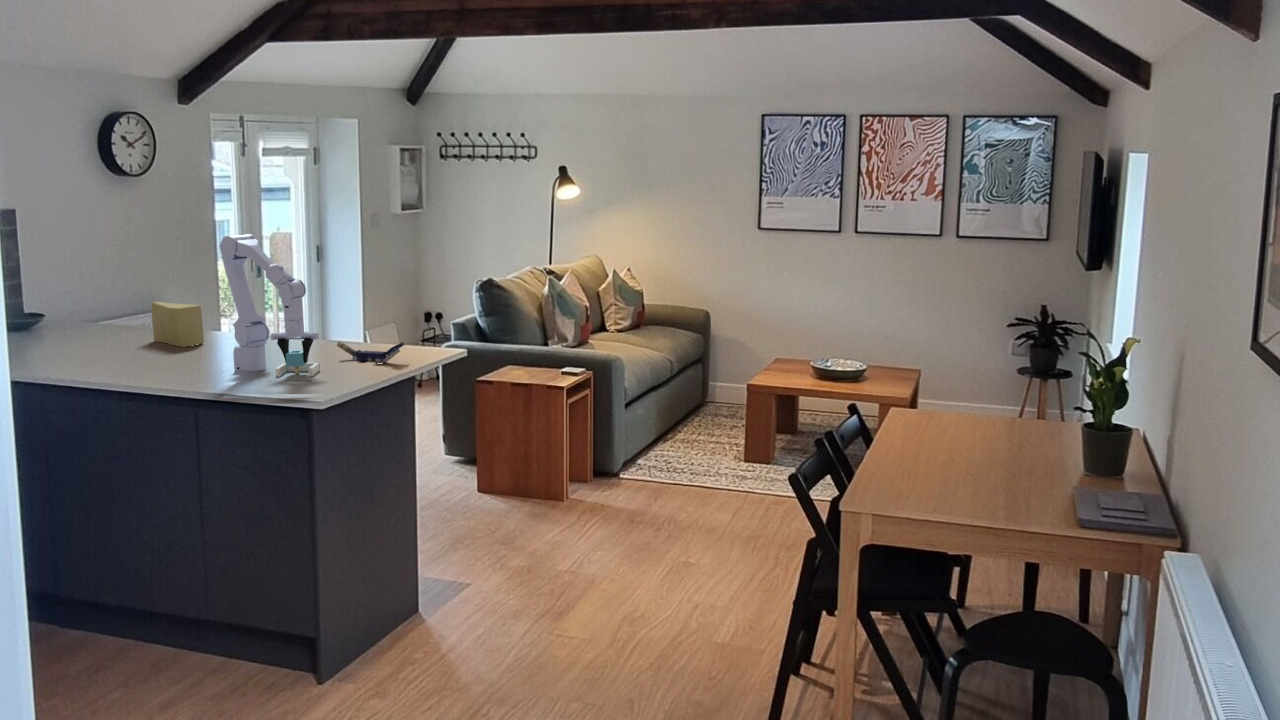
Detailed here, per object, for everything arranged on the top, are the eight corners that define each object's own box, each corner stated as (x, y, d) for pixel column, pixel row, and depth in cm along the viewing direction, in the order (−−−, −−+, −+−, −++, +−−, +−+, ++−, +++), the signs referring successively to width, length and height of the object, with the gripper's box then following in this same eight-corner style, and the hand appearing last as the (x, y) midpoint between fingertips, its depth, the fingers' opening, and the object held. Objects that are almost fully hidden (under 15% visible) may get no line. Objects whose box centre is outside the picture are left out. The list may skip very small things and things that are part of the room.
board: (264, 385, 347) (263, 372, 346) (289, 367, 374) (288, 355, 373) (321, 384, 347) (320, 371, 346) (341, 366, 374) (340, 354, 373)
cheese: (143, 343, 421) (140, 303, 418) (166, 339, 429) (163, 299, 426) (182, 348, 409) (179, 307, 407) (205, 344, 418) (202, 304, 415)
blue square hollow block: (286, 366, 354) (285, 353, 354) (290, 363, 359) (289, 350, 358) (302, 365, 354) (301, 353, 354) (306, 362, 359) (305, 350, 359)
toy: (390, 375, 375) (395, 346, 373) (328, 358, 378) (333, 329, 376) (402, 369, 384) (407, 341, 382) (342, 353, 388) (346, 324, 385)
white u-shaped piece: (275, 376, 354) (275, 368, 353) (283, 370, 363) (283, 363, 362) (312, 376, 354) (312, 368, 354) (319, 370, 363) (319, 362, 362)
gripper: (266, 321, 350) (269, 364, 353) (314, 321, 350) (316, 364, 353) (273, 318, 357) (276, 360, 360) (319, 317, 357) (322, 360, 360)
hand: (296, 362), depth 357 cm, fingers closed on blue square hollow block, 5 cm apart
